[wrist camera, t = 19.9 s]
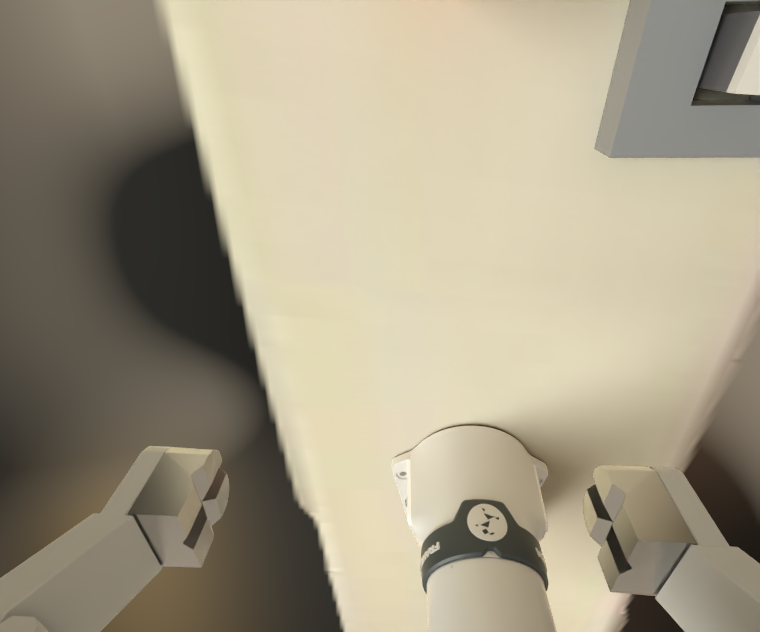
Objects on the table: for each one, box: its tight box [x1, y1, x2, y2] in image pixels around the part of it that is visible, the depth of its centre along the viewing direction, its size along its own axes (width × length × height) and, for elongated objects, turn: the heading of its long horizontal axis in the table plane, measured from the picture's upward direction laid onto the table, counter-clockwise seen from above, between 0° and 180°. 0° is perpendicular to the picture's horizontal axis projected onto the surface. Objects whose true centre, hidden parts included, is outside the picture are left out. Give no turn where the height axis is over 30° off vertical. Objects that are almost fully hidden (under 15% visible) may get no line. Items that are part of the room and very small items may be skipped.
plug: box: [697, 11, 760, 95], centre depth 26 cm, size 4×4×6 cm
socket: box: [595, 0, 760, 158], centre depth 27 cm, size 15×14×3 cm
